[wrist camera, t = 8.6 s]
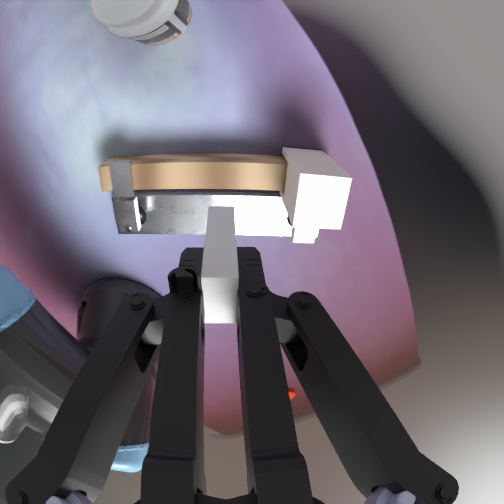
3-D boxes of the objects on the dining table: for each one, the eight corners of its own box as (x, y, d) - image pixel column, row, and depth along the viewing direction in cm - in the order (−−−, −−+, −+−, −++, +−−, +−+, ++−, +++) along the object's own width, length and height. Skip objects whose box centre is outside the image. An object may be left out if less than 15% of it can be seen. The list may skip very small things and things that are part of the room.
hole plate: (121, 229, 29) (118, 234, 28) (115, 193, 27) (111, 197, 26) (314, 232, 31) (317, 237, 30) (321, 195, 29) (324, 199, 28)
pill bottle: (150, -11, 15) (110, -46, 7) (204, 4, 17) (188, -35, 8) (122, 38, 18) (68, 25, 9) (174, 53, 19) (140, 40, 11)
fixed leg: (127, 220, 27) (120, 232, 25) (118, 156, 23) (109, 163, 21) (144, 220, 27) (138, 232, 26) (137, 154, 23) (129, 161, 22)
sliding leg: (275, 217, 29) (287, 261, 23) (282, 147, 25) (300, 173, 19) (311, 218, 30) (332, 262, 23) (322, 150, 25) (351, 178, 19)
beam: (113, 180, 26) (102, 191, 23) (110, 157, 24) (98, 167, 22) (324, 182, 28) (333, 194, 25) (327, 159, 26) (337, 169, 24)
